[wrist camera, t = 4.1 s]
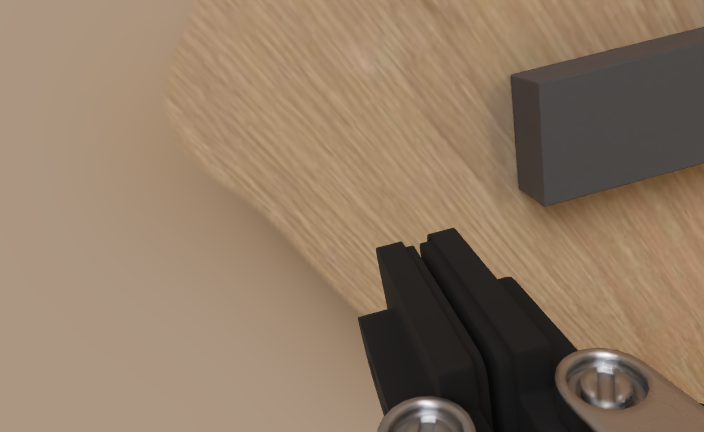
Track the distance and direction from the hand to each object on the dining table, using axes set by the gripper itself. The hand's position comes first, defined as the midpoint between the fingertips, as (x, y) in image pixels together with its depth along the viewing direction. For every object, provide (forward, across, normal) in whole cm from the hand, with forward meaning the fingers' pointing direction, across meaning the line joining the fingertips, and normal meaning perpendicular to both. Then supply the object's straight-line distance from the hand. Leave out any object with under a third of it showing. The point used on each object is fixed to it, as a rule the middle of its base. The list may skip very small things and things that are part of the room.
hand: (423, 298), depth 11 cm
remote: (+9, -14, 0) cm, 17 cm away
